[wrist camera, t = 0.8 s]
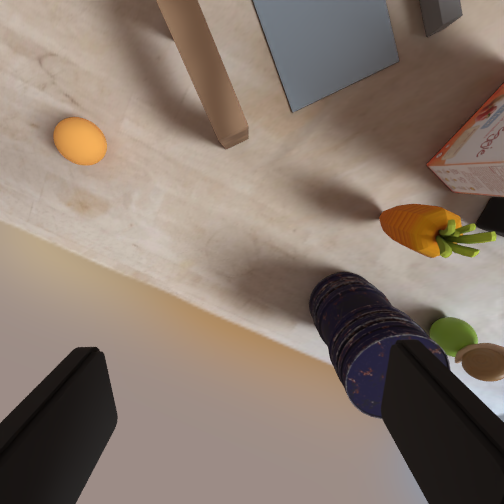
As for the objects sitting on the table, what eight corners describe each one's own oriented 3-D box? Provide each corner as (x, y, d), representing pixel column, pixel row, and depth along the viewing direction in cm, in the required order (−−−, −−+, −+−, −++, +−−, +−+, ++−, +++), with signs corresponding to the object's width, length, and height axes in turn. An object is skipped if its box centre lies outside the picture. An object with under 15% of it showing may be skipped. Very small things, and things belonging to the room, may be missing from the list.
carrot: (361, 234, 35) (439, 275, 21) (366, 197, 34) (454, 214, 19) (397, 234, 35) (500, 276, 21) (403, 197, 34) (519, 214, 19)
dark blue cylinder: (353, 340, 40) (412, 432, 26) (296, 318, 39) (325, 402, 24) (387, 285, 37) (473, 354, 23) (328, 260, 36) (380, 317, 22)
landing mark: (247, -13, 27) (248, -14, 27) (365, -78, 26) (366, -79, 26) (292, 112, 31) (292, 112, 30) (398, 61, 29) (399, 61, 29)
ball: (64, 133, 31) (31, 125, 26) (100, 114, 30) (72, 103, 26) (88, 172, 32) (60, 172, 28) (122, 155, 32) (100, 152, 27)
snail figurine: (468, 327, 40) (557, 390, 28) (428, 346, 41) (500, 414, 29) (456, 300, 38) (545, 355, 27) (416, 321, 39) (485, 382, 28)
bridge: (226, 149, 32) (218, 140, 23) (170, 23, 28) (137, -41, 20) (248, 138, 31) (248, 125, 23) (195, 9, 28) (172, -62, 19)
